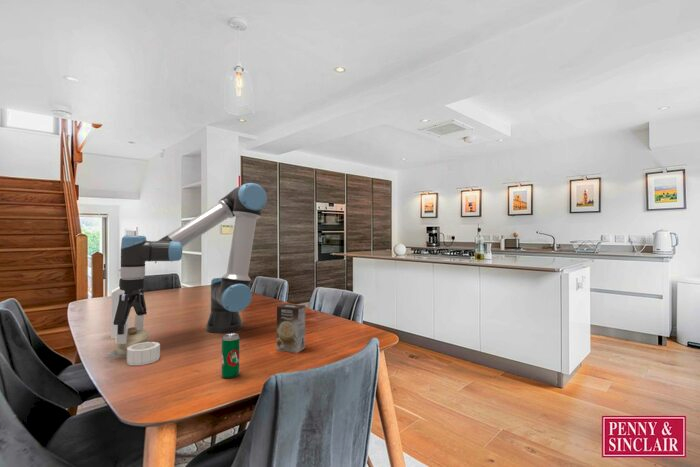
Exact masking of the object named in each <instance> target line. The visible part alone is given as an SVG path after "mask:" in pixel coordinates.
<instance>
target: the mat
mask: <svg viewBox="0 0 700 467" xmlns="http://www.w3.org/2000/svg"><path fill="white" fill-rule="evenodd" d="M122 357H123V358H124V357H126V358H127V355H126V356H120V355H116V354H115V350H114V351H112V352H110V353H109V354H108V355H106V356H104V359H107V358H122Z"/></svg>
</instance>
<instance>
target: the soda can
mask: <svg viewBox="0 0 700 467" xmlns="http://www.w3.org/2000/svg"><path fill="white" fill-rule="evenodd" d="M240 340H241V338H240V336H239V333H236V332H231V333H229V332H227V333H224V334H223V335H222V338H221V371H220V372H221V374H220V376H222V378H224V379H232V378H235V377H236V378H237V376H239V374H240V363H241V362H240V360H241V359H240V355H241V354H240V353H241V351H240V350H241V348H240V347H241V346H240V342H241V341H240Z"/></svg>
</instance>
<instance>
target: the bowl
mask: <svg viewBox="0 0 700 467" xmlns="http://www.w3.org/2000/svg"><path fill="white" fill-rule="evenodd" d="M160 356H161V344H160V343H159V342H156V341H148V342H144V343H138V344H135V345H131V346H129V347H128V348H127V357H126V363H127V365H129V366H145V365H149V364H153V363H155V362H157V361H159V360H160Z"/></svg>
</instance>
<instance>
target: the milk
mask: <svg viewBox="0 0 700 467" xmlns="http://www.w3.org/2000/svg"><path fill="white" fill-rule="evenodd" d="M110 292H111V294H110V299H111V301H110V302H111V303H110V339H111V340H113V339H114V340H115V335H117V325H114V319H115V315H116V311H117V307H118V303H119V295H123V294H124V293H125V291H124V290H120V285H119V286H117V287H116V288H114V289H112V290H111V291H110ZM126 324H127V329H128V328H130V314H129V315H128V318H127V321H126Z"/></svg>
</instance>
